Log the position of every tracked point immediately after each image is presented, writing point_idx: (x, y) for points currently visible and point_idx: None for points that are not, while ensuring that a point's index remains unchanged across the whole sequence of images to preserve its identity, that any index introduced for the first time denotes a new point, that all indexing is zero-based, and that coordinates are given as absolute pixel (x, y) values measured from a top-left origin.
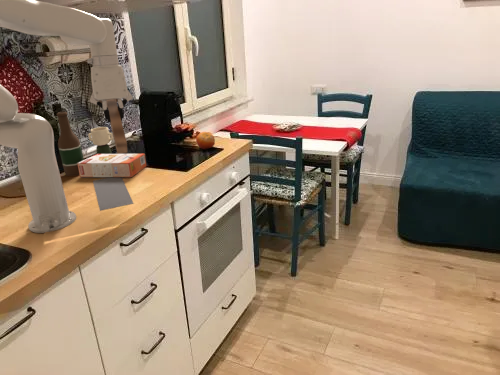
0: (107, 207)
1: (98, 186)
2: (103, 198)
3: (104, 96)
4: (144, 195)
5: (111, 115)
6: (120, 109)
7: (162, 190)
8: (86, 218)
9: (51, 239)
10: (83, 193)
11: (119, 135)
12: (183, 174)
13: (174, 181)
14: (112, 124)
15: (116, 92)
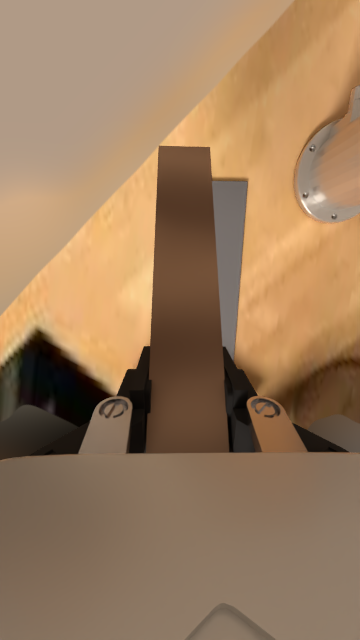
0: (230, 190)
1: (227, 332)
2: (229, 253)
3: (354, 504)
4: (146, 229)
5: (210, 342)
6: (131, 386)
7: (104, 237)
8: (276, 162)
9: (355, 81)
10: (258, 316)
11: (186, 183)
12: (47, 315)
13: (72, 281)
14: (214, 261)
15: (70, 606)
